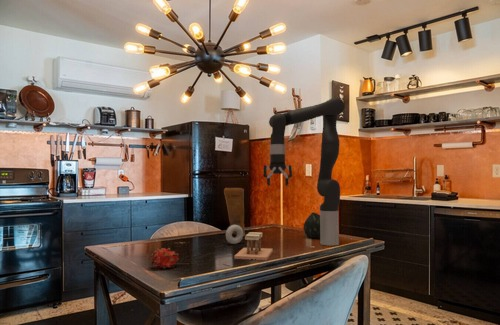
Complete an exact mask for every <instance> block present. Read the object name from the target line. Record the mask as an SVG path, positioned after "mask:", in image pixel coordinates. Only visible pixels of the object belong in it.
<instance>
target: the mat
mask: <svg viewBox="0 0 500 325" xmlns="http://www.w3.org/2000/svg"><path fill="white" fill-rule="evenodd" d="M273 252H274V249H273V248H262V247H261V251H258V254H255V247H253V251H251V247H250V254H247V247H243V248H242V249H240V250H239V251H238V252H237V253H236V254H234V256H233V257H234V260H251V259H253V261H255V259H256V260H257V261H267V260H268V259H269V258H270V257H271V255H272V254H273Z"/></svg>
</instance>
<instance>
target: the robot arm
mask: <svg viewBox="0 0 500 325" xmlns="http://www.w3.org/2000/svg"><path fill="white" fill-rule="evenodd" d="M344 110H345V102H344V100H343V99H341V98H340V97H332V98H330V99H327V100H326V101H324V102H321V103H318V104H315V105H314V104H313V105H310V106H307V107H301V108H297V109H293V110H289V111H288V112H284V113H281V112H280V113H279V112H277V113H275V114H273V115H272V116H270V118H269V120H268V124H269V126H270V128H272V130H271V134H270V146H269V147H270V148H269V165H265V164H264V166H263V177H264V178H266V185H267V186H268V187H271V177H272V176H273V174H274V175H281V174H282V175H283V176H284V177H285V184H284V186H285V187H288V186H289V184H290V183H289V179H290V178H292V177H293V168H292V165H291V164H288V165H286V147H285V133H286V127H287V126H290V125H296V124H297V125H298V124H300V123H305V122H307V121H310V120H313V119H316V118H319V117H322V133H321V144H320V161H319V162H320V163H319V172H318V176H317V184H316V190H317V193H318V194H319V196H320V197H323V201H322V203H321V204H320V205H319V215H320V239H319V240H320V242H319V244H320V245H323V246H328V247H329V246H330V247H331V246H340V236H339V234H340V233H339V232H340V231H339V230H340V229H339V226H340V225H339V207H340V204H341V203H340V202H341V186H340V183H339V182H338V180H336V179H332V177H333V176H332V175H333V174H332V173H333V168H334V167H335V164H336V162H337V160H338V158H339V155H340V137H339V134H338V133H339V132H338V130H337V129H338V128H337V122H338V121H337V119H338V116H339V115H341V114H342V113H343V112H344ZM269 169H270V172H269V173H268V170H269ZM286 169H287V170H288V174H289V175H288V174H287V172H286V171H285V170H286ZM267 173H268V174H267Z"/></svg>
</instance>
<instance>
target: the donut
mask: <svg viewBox="0 0 500 325" xmlns="http://www.w3.org/2000/svg"><path fill="white" fill-rule="evenodd" d="M234 231H236V232H237V235H235V237H233V234H232V233H233V232H234ZM225 238H226V241H227V242H228V243H229V244H231V245H237V244H239V243H240V242H241V241H242V240H243V238H244V236H243V230H242V228H241V227H240V226H238V225H231V226H230V225H229V226H228V227H227V229H226V230H225Z"/></svg>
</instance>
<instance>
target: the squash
mask: <svg viewBox="0 0 500 325" xmlns="http://www.w3.org/2000/svg"><path fill="white" fill-rule="evenodd" d="M302 228H303V232H304V234H305V236H306V237H307V238H310V239H316V238H317V239H318V240H320V213H316V212H310V214H309V215H308V217H307V218H306V219H305V221H304V223H303V227H302Z"/></svg>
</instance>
